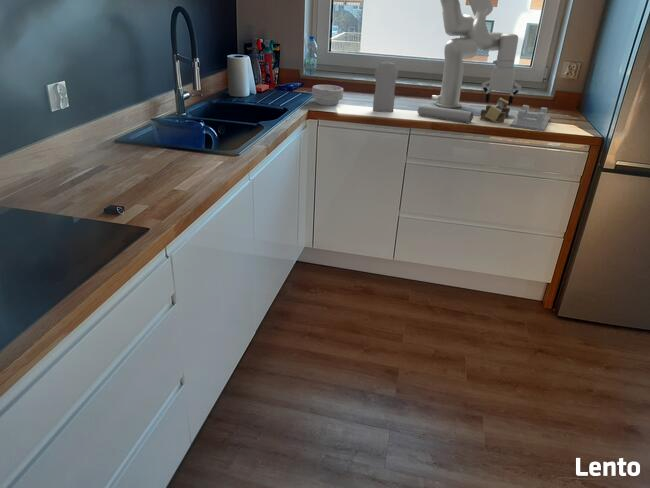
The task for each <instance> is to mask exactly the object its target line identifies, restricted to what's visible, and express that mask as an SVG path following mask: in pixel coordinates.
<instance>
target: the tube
mask: <svg viewBox="0 0 650 488" xmlns="http://www.w3.org/2000/svg"><path fill="white" fill-rule="evenodd" d="M417 114H418V115H419V116H423V117H427V118H432V119H441V120H447V121H451V120H452V122H459V123H463V124H464V123H466V124H469V123H470V124H472V121H473V120H474V119H473V118H474V111H473V110H472V111H468V110H461V109H456V108H446V107H440V106H432V105H425V104H422V105H419V106H418V108H417Z"/></svg>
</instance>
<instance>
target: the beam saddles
mask: <svg viewBox="0 0 650 488" xmlns="http://www.w3.org/2000/svg"><path fill="white" fill-rule="evenodd" d="M492 105H493V104H486V107H485V108H483V109H481V110H480V118H479V119H480V121H481V120H483V121H487V122H488V121H490V122H493V121H492V120H490V119H489V118H487V117H485V115H486V113H487V112H488V110H489V109H490V107H491V106H492ZM510 111H511V107H508V106H507V107H504V109H503V111H502V112H501V113H500V115H499V116H498V118H497V120H496V121H495V122H497V123H503V122H504V121H505V118H507V117H509V113H510ZM495 122H494V123H495Z"/></svg>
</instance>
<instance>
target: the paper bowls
mask: <svg viewBox="0 0 650 488" xmlns="http://www.w3.org/2000/svg"><path fill="white" fill-rule="evenodd" d="M311 90H312V91H311V97H312V98H313V99H315V101H316V103H317V104H318V105H322V106H336V105H337V104H338V103H339V101H341V100H343V98H344V87H341V86H340V85H339V86H338V85H332V84H316V85H312V88H311Z"/></svg>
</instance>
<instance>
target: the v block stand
mask: <svg viewBox="0 0 650 488" xmlns="http://www.w3.org/2000/svg"><path fill="white" fill-rule="evenodd" d="M529 108H530V105H527V104H523V105H522V108H521V109H519V110H518V113H517V114H516V116H515V118H514V119H513V120H512V121H511V122H510V125H509V127H512V128H518V129H525V130H532V131H539V132H540V131H541V132H544V131H545V130H546V127H547V125H548V123H549V121H550V118H551V117H550V116H546V115H547V111H548V107H543V106H542V107H541V108H540V111H538V113H537V112H530V111H529Z"/></svg>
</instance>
